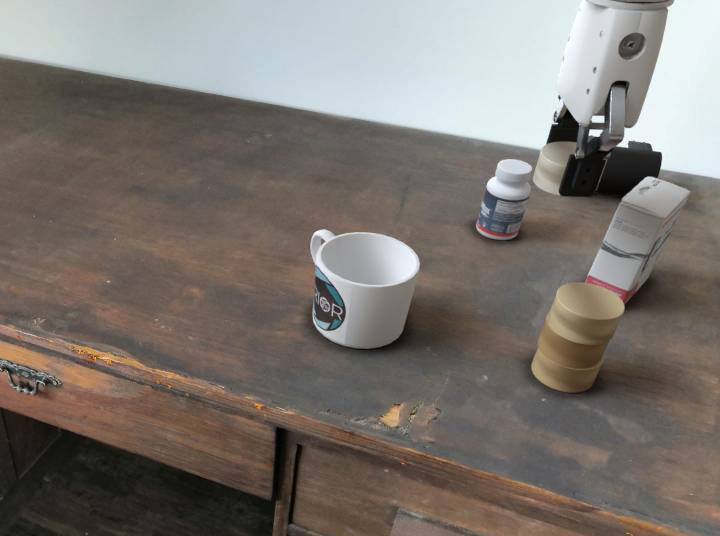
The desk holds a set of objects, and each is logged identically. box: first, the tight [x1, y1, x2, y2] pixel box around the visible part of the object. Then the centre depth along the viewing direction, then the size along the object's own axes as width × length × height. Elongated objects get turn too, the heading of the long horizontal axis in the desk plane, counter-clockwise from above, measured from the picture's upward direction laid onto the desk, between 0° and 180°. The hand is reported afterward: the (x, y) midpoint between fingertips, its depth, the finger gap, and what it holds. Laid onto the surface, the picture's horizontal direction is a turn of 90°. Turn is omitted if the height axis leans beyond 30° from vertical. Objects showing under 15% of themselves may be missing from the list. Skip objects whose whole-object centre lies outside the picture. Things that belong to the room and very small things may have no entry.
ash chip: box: [532, 141, 607, 198], centre depth 76 cm, size 6×6×3 cm
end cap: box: [587, 134, 663, 198], centre depth 105 cm, size 10×7×7 cm
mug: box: [309, 228, 421, 350], centre depth 83 cm, size 13×10×8 cm
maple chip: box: [547, 281, 626, 345], centre depth 73 cm, size 6×6×3 cm
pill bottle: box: [475, 158, 533, 241], centre depth 96 cm, size 5×5×9 cm
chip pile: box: [530, 312, 610, 394], centre depth 76 cm, size 6×6×6 cm
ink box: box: [584, 177, 692, 306], centre depth 86 cm, size 9×5×12 cm, turn 137°
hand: (566, 177), depth 76 cm, fingers closed on ash chip, 6 cm apart
